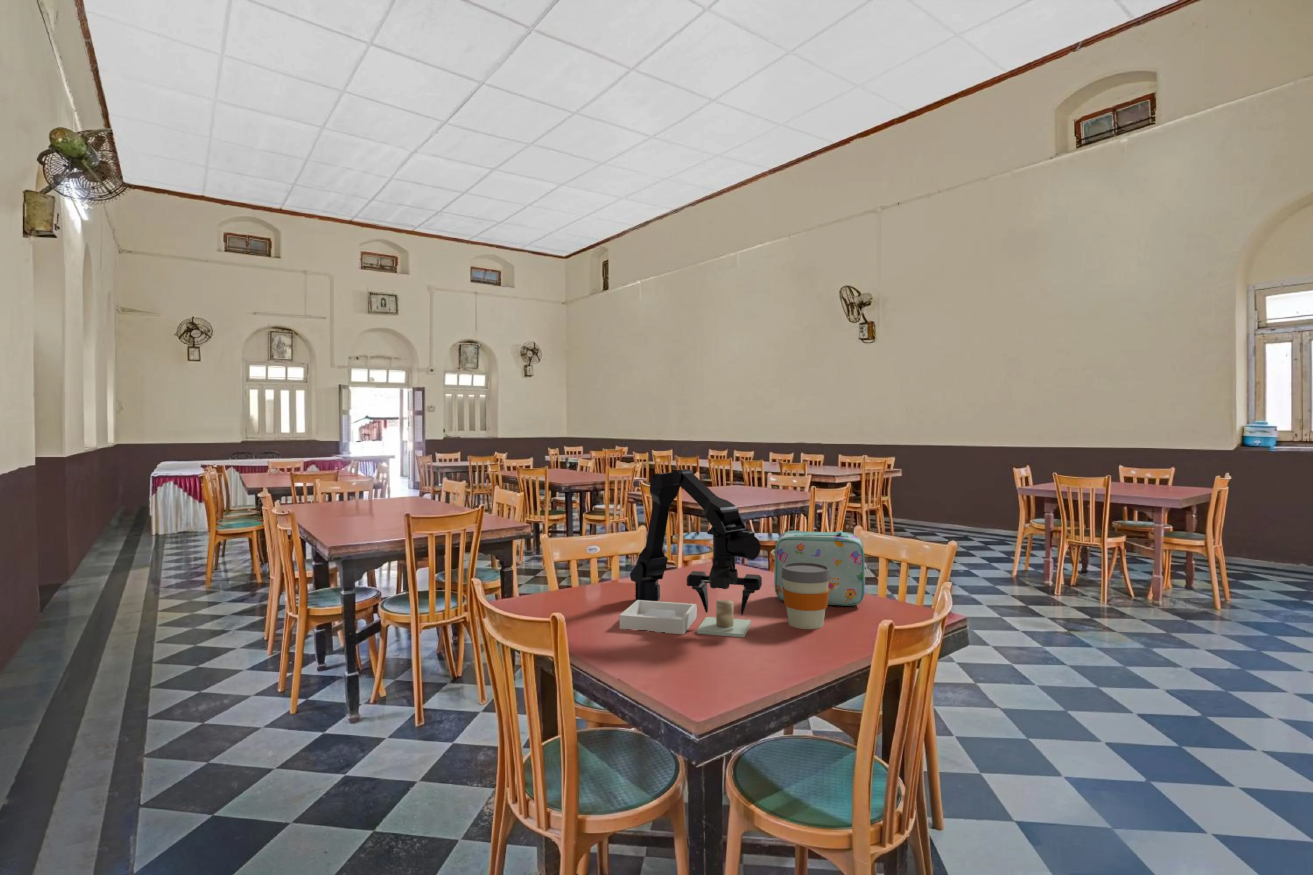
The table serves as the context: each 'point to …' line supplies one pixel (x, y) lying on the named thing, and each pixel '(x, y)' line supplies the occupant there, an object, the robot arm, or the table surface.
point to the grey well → (659, 616)
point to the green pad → (724, 628)
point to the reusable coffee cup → (805, 593)
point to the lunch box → (825, 562)
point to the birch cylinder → (724, 613)
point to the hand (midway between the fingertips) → (724, 613)
